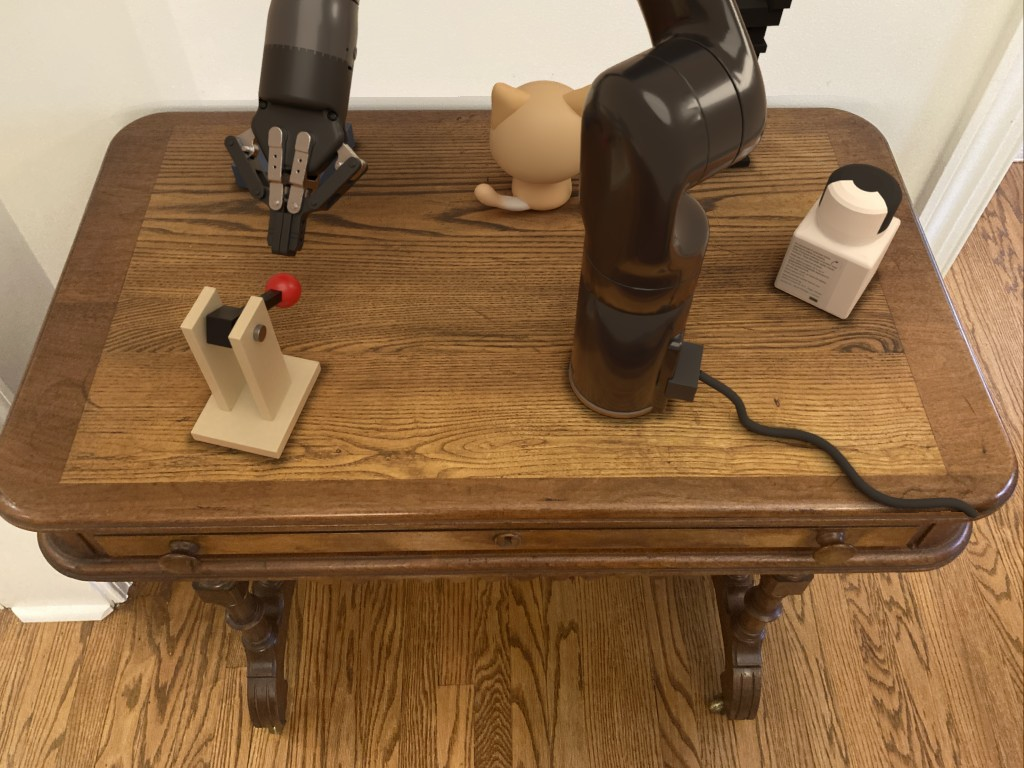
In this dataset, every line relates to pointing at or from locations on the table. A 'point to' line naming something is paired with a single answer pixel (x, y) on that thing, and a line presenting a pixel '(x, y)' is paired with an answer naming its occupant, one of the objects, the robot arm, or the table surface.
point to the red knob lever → (220, 322)
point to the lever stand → (247, 380)
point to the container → (842, 239)
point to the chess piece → (759, 29)
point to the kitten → (535, 143)
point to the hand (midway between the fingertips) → (284, 255)
